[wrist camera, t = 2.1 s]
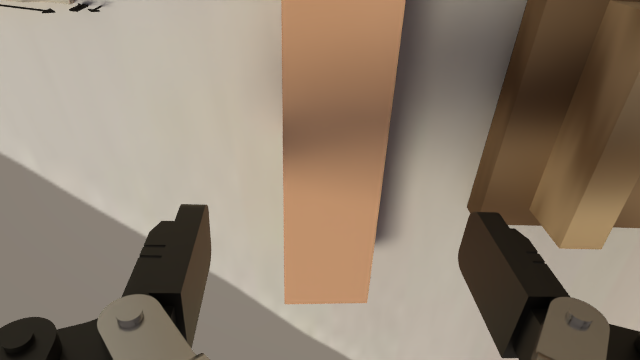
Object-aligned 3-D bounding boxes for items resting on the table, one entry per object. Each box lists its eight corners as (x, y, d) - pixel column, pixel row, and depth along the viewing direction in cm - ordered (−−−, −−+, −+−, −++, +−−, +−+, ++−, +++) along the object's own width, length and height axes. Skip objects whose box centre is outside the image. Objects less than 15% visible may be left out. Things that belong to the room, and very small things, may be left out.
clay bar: (283, -84, 17) (280, -80, 13) (387, -80, 17) (415, -75, 13) (285, 243, 25) (284, 304, 21) (355, 242, 26) (366, 302, 22)
